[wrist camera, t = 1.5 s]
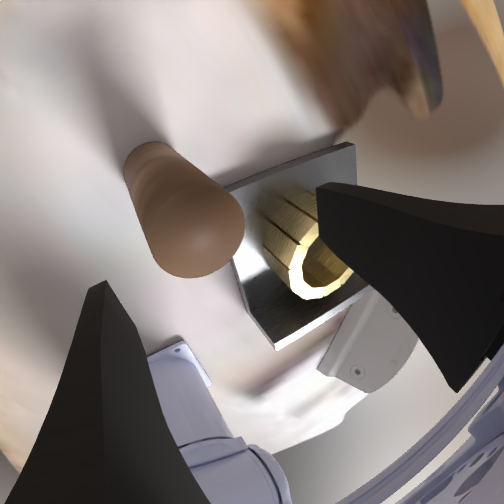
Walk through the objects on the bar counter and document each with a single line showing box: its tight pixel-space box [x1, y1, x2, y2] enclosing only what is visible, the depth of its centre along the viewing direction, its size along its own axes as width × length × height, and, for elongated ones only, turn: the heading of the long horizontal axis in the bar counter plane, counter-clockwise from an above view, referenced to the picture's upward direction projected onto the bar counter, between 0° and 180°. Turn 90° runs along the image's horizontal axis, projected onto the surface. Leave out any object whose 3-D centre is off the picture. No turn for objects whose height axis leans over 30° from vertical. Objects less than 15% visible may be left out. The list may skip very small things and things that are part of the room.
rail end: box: [124, 142, 245, 278], centre depth 14 cm, size 4×4×9 cm
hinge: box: [317, 289, 420, 393], centre depth 36 cm, size 17×5×10 cm, turn 161°
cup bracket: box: [223, 142, 374, 351], centre depth 23 cm, size 12×12×5 cm
